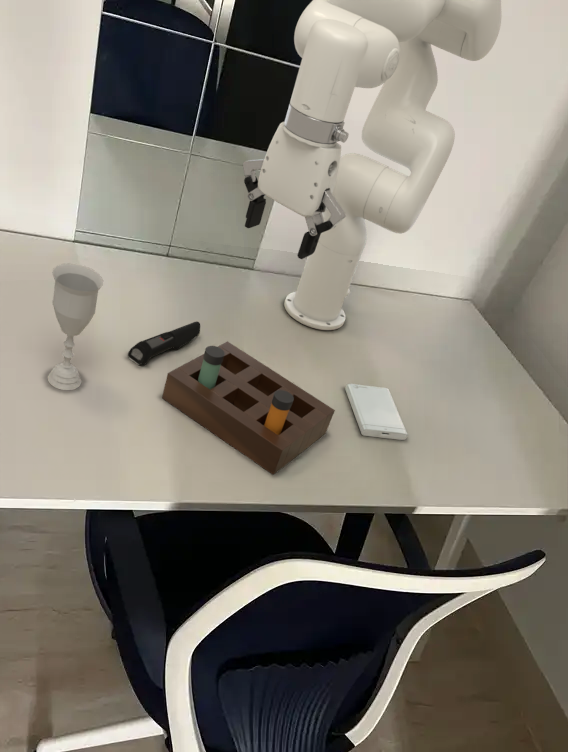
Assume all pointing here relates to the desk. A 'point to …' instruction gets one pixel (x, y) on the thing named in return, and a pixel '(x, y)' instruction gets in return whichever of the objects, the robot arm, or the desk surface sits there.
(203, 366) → the sage tube
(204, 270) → the desk surface
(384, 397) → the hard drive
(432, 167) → the robot arm
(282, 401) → the amber tube
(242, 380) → the rack
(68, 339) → the chalice
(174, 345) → the electric trimmer
